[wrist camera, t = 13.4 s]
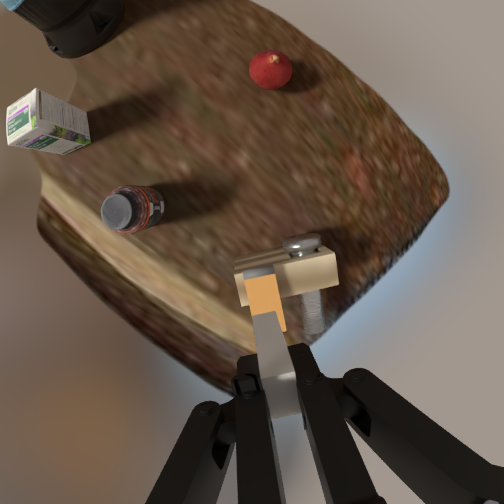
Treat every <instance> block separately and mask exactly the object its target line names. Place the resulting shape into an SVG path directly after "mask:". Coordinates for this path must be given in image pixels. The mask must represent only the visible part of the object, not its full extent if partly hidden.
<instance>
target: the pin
mask: <svg viewBox="0 0 504 504" xmlns="http://www.w3.org/2000/svg"><path fill="white" fill-rule="evenodd" d="M282 245H283V251H284V252H289V253H292V257H293V258H294V257H298V256H303V255H308V254H312V253H315V248H318V247H320V246H321V245H322V243H321V236H320V234H318V233H306V234H299V235H295V236H291V237H288V238H285V239H283V240H282ZM299 299H300V305H301V311H302V318H303V324H304V331H305V332H306V333H308V334H317V333H320V332H322V331H324V330H325V321H324V312H323V304H322V297H321V289H319V290H314V291H310V292H306V293H302V294H299Z"/></svg>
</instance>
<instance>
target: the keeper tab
mask: <svg viewBox="0 0 504 504" xmlns="http://www.w3.org/2000/svg"><path fill="white" fill-rule="evenodd" d="M242 273H243V278H244V282H245V287H246V292H247V296H248V301H249V305H250V310H251V314H252V316H253V315H258V314H263V313H268V312H272V311H276V314H277V317H278V320H279V323H280V327H281V330H282V332H284V331H286V326H285V321H284V316H283V310H282V305H281V300H280V295H279V290H278V285H277V280H276V276H275V270H274V266H273V264H272V265H268V266H263V267H258V268H254V269H249V270H244V271H242Z"/></svg>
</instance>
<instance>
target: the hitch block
mask: <svg viewBox="0 0 504 504" xmlns="http://www.w3.org/2000/svg"><path fill="white" fill-rule="evenodd" d="M272 264H273V266H274V270H275V276H276V280H277V285H278V290H279V295H280V298H284V297H288V296H293V295H297V294H302V293H306V292H310V291H314V290H319V289H323V288H327V287H331V286H335V285H339V281H338V272H337V264H336V257H335V253H334V252H333V251H331V250H330V249H328V248H327V247H325V246H324V245H321V246H320V247H318V248H315V253H312V254H308V255H303V256H298V257H294V258H293V257H292V253H289V252H284V251H283V247H281V248H276V249H272V250H267V251H262V252H257V253H253V254H248V255H243V256H238V257H235V267H234V276H235V280H236V284H237V289H238V293H239V297H240V301H241V306H246V305H249V301H248V296H247V292H246V287H245V282H244V278H243V273H242V271H244V270H249V269H254V268H258V267H263V266H268V265H272Z"/></svg>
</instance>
